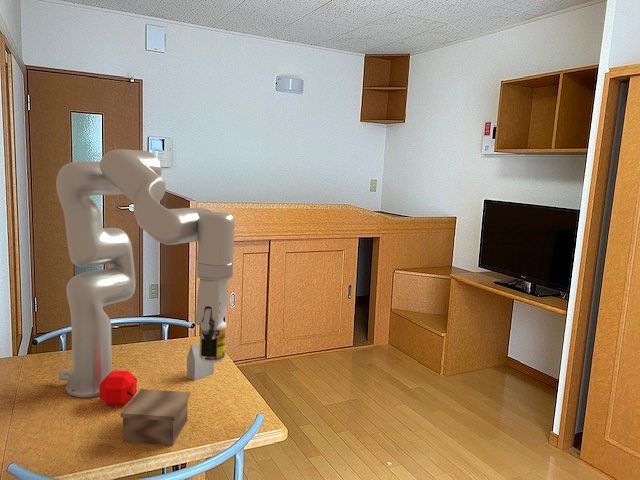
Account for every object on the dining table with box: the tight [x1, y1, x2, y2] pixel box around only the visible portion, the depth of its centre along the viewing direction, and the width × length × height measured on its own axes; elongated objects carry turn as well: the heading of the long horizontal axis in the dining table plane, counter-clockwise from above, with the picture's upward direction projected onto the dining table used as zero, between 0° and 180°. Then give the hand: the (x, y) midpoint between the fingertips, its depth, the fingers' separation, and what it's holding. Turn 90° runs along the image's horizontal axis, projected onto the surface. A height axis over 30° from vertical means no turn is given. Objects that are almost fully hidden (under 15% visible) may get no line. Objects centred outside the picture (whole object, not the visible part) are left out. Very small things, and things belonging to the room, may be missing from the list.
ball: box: [98, 370, 138, 407], centre depth 127 cm, size 8×8×8 cm
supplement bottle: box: [199, 318, 227, 363], centre depth 110 cm, size 6×6×10 cm
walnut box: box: [120, 388, 191, 446], centre depth 115 cm, size 12×12×7 cm
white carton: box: [186, 342, 215, 381], centre depth 145 cm, size 4×7×10 cm, turn 140°
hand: (212, 349), depth 110 cm, fingers closed on supplement bottle, 5 cm apart
